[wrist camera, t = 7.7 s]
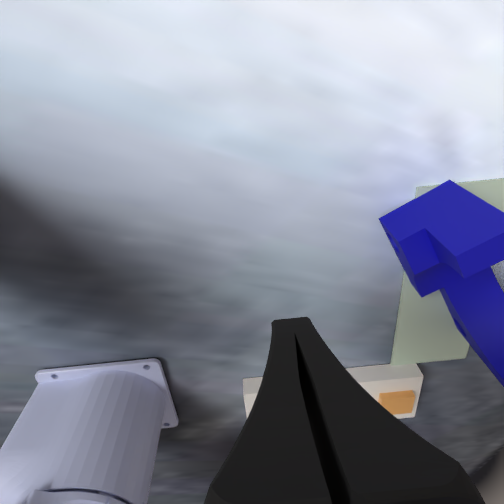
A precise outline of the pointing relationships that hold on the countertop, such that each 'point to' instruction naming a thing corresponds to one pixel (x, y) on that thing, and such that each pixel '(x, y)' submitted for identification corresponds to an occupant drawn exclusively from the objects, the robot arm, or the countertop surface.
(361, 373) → the power strip
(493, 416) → the countertop surface
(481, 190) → the mat
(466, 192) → the cable clip
